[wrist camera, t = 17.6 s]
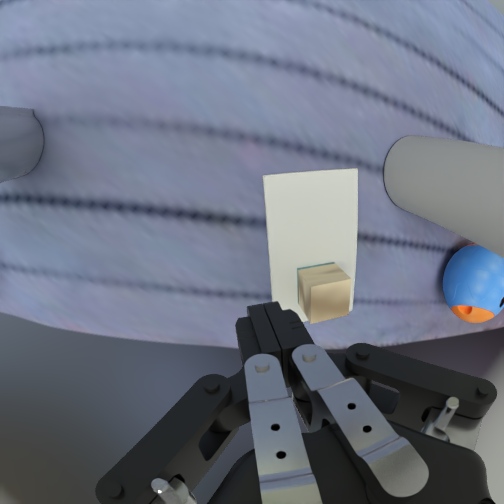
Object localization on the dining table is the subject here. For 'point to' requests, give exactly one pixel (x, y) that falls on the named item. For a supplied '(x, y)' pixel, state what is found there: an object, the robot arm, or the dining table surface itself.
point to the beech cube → (323, 291)
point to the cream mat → (309, 227)
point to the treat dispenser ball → (474, 283)
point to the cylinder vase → (450, 186)
